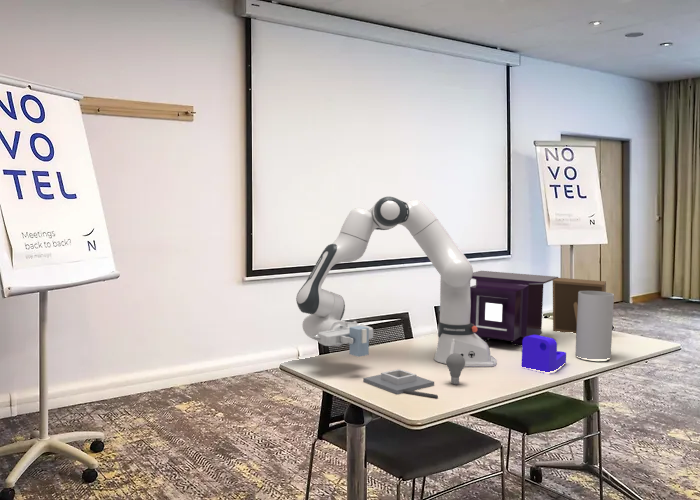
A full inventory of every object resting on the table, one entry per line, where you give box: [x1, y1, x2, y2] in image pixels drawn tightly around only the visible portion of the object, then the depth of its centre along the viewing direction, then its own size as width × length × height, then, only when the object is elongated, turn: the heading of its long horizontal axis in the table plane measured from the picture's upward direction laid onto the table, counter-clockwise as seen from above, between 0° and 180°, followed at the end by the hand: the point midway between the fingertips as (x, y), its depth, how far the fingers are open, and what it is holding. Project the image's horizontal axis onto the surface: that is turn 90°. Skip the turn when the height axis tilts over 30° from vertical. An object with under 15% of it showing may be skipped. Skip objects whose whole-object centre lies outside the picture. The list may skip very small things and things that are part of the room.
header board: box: [363, 368, 435, 395], centre depth 198 cm, size 16×16×3 cm
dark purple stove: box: [470, 270, 559, 346], centre depth 263 cm, size 35×35×27 cm
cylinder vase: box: [575, 291, 615, 359], centre depth 235 cm, size 12×12×25 cm
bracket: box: [521, 335, 567, 372], centre depth 222 cm, size 18×11×12 cm, turn 129°
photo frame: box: [552, 277, 607, 334], centre depth 276 cm, size 15×22×25 cm
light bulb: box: [446, 353, 465, 385], centre depth 199 cm, size 6×6×10 cm
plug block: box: [348, 326, 370, 358], centre depth 204 cm, size 4×5×9 cm
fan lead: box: [403, 390, 439, 399], centre depth 187 cm, size 11×1×1 cm, turn 63°
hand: (360, 339), depth 204 cm, fingers closed on plug block, 4 cm apart
